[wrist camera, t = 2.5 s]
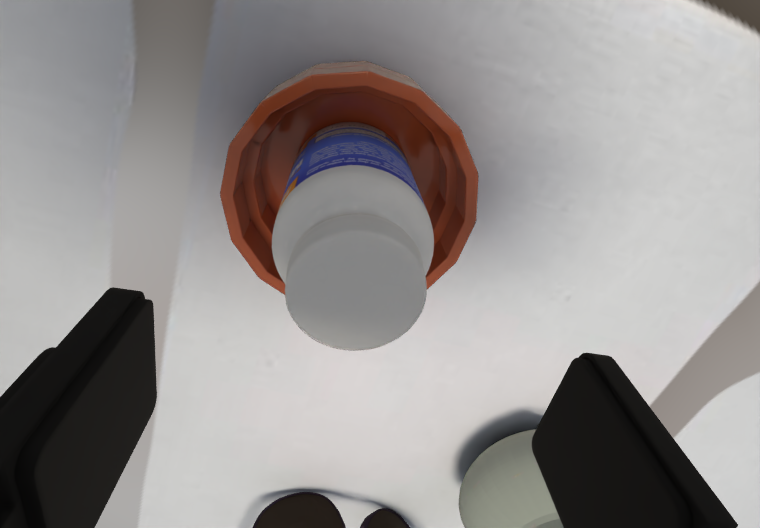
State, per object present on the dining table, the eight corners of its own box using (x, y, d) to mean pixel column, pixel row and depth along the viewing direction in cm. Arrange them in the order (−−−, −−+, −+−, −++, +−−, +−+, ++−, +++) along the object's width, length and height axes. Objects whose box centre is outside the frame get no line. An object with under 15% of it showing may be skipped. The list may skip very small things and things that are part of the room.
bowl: (201, 187, 21) (172, 222, 18) (336, 3, 18) (332, 2, 14) (363, 300, 25) (365, 347, 21) (500, 165, 22) (529, 195, 18)
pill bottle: (282, 126, 20) (231, 215, 11) (406, 113, 20) (450, 193, 11) (303, 238, 22) (275, 379, 14) (413, 226, 22) (451, 360, 14)
